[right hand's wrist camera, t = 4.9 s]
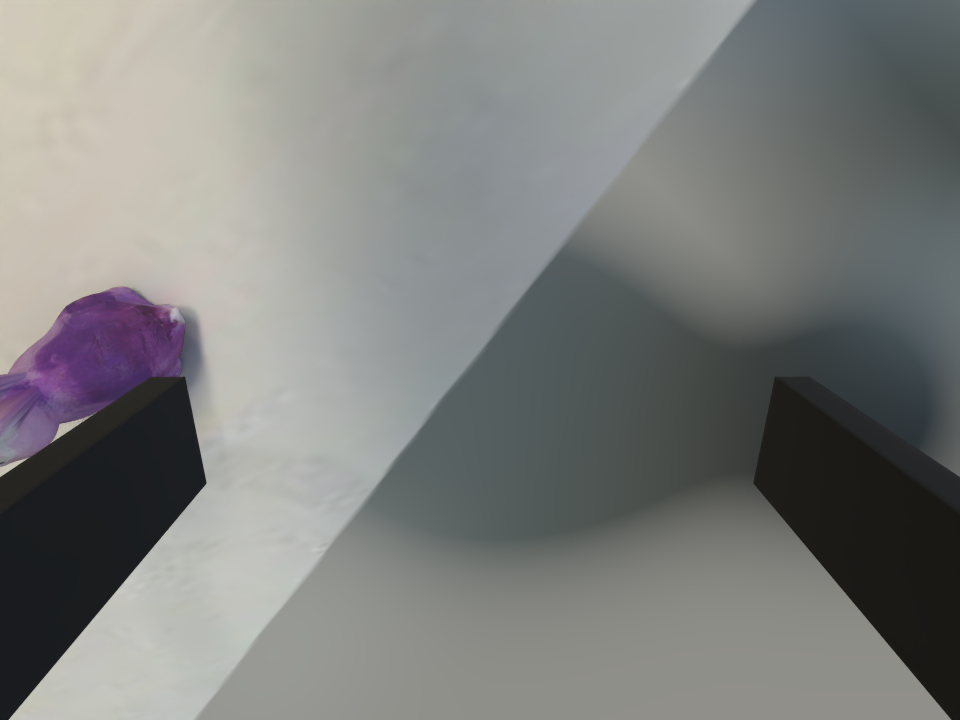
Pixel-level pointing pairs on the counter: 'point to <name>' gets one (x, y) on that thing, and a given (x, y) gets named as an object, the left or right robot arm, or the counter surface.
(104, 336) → the figurine
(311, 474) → the counter surface
